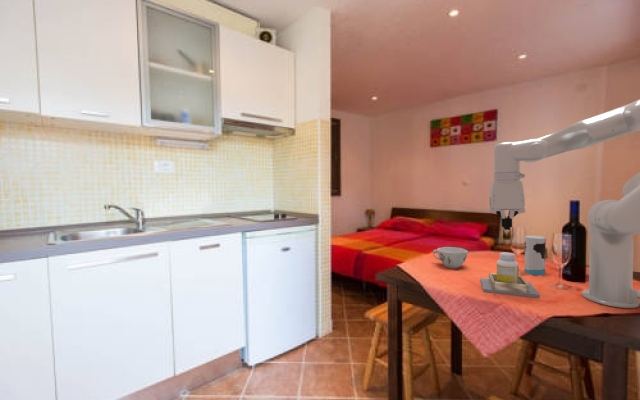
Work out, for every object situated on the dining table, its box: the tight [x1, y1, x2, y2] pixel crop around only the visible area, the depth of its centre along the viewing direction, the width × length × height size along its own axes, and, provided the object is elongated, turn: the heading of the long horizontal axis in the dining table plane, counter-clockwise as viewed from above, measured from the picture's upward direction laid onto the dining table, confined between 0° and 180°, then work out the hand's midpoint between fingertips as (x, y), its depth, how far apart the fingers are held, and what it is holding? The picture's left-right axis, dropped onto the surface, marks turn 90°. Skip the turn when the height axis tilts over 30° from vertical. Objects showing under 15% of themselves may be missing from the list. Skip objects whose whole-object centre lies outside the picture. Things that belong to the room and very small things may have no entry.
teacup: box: [432, 246, 468, 269], centre depth 130 cm, size 15×12×8 cm
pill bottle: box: [496, 252, 520, 284], centre depth 102 cm, size 6×6×12 cm
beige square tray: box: [488, 272, 529, 293], centre depth 102 cm, size 11×11×2 cm
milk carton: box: [524, 235, 547, 276], centre depth 117 cm, size 7×7×15 cm
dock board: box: [479, 277, 541, 299], centre depth 102 cm, size 16×12×1 cm
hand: (506, 229), depth 101 cm, fingers closed
